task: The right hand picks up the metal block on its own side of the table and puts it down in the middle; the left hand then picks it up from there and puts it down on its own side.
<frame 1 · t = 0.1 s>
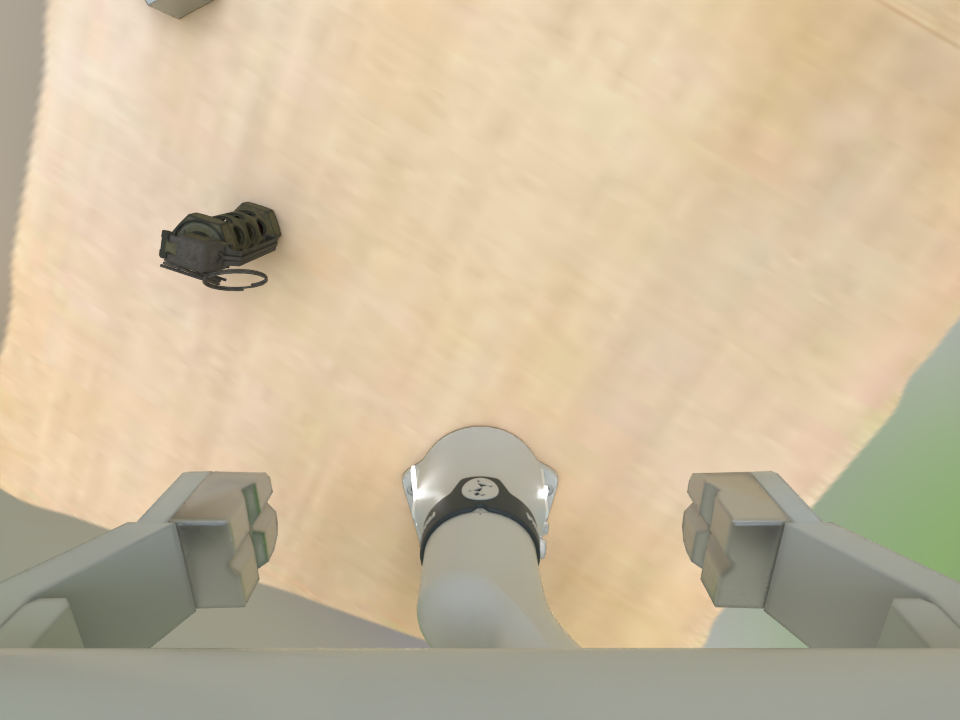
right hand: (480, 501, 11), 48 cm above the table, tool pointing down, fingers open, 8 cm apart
grenade: (266, 236, 56), on the table
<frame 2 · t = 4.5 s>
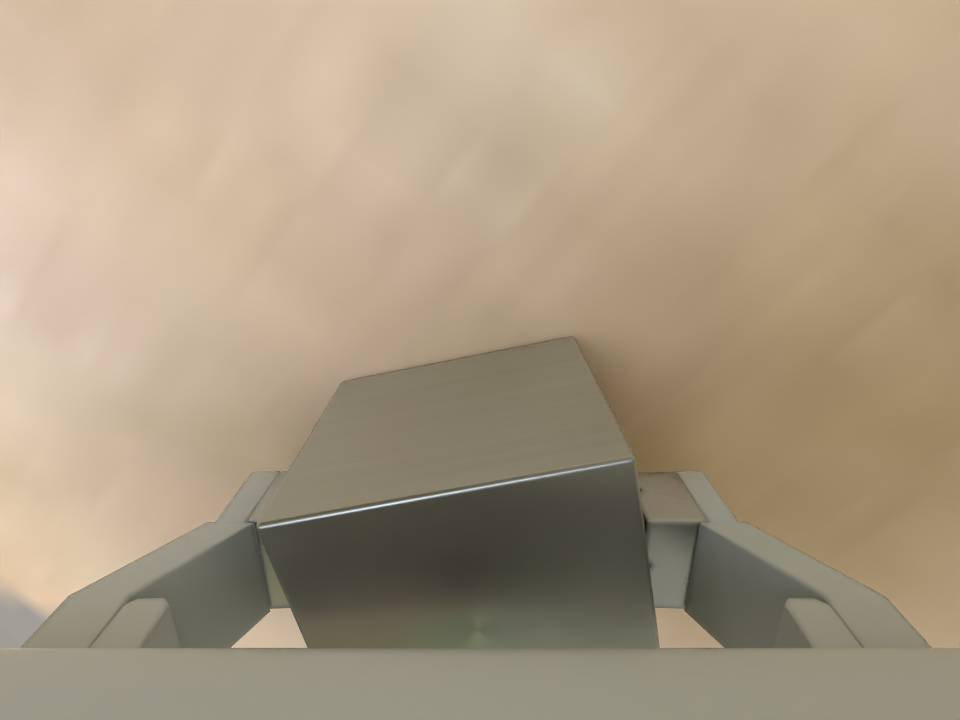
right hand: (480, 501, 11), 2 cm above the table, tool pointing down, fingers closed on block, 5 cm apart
block: (478, 453, 12), on the table, touching right hand
when the right hand's fingers open (2 cm above the table, at t = 11.2 s): block stays where it is, on the table.
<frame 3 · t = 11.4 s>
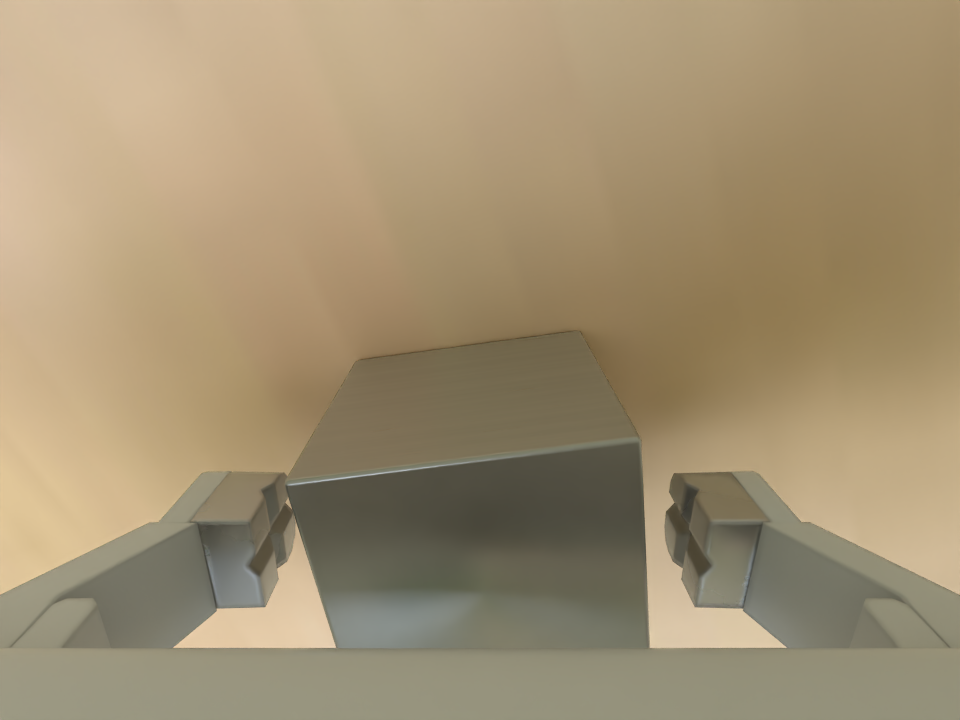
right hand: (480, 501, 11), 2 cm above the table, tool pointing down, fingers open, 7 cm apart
block: (481, 437, 13), on the table
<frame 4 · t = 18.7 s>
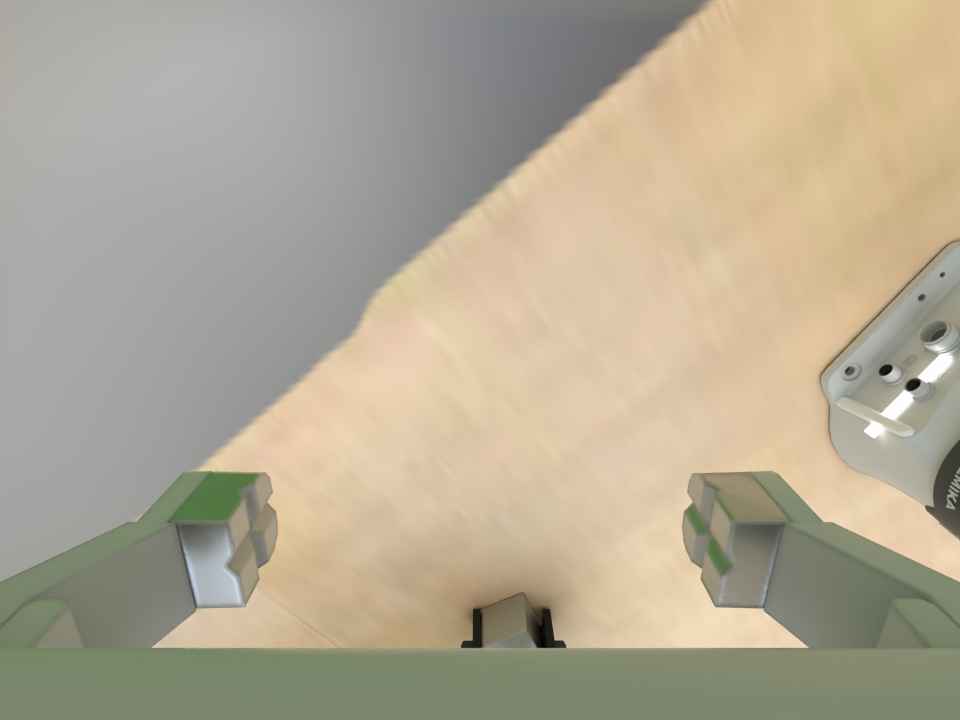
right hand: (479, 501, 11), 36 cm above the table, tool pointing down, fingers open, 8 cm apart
block: (511, 615, 58), on the table, touching left hand
when the left hand's fingers open (1 cm above the table, at t = 26.0 s): block stays where it is, on the table.
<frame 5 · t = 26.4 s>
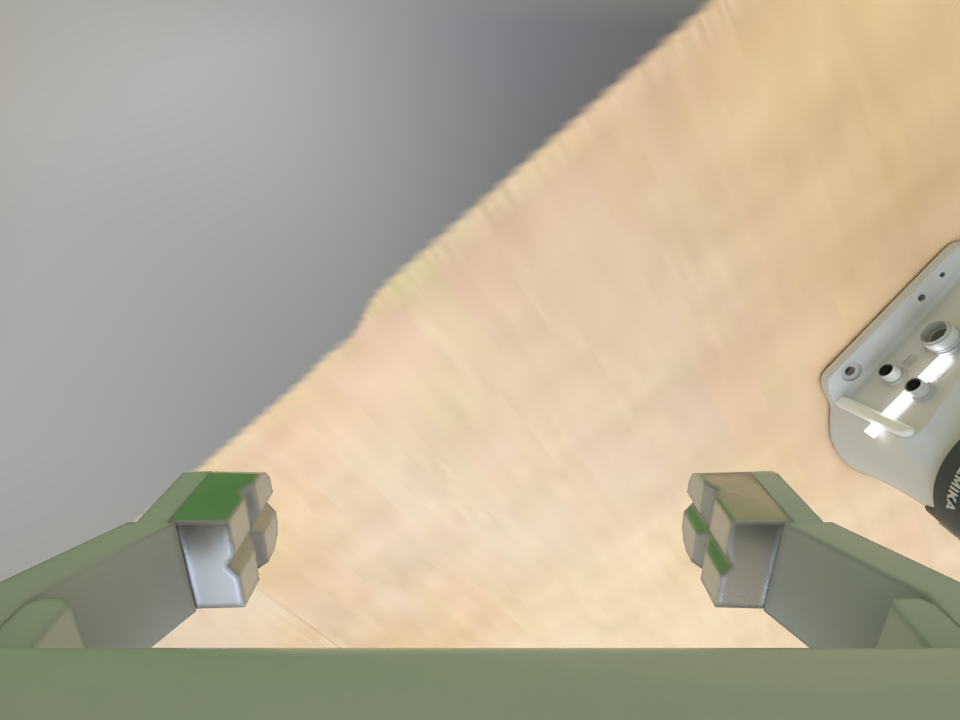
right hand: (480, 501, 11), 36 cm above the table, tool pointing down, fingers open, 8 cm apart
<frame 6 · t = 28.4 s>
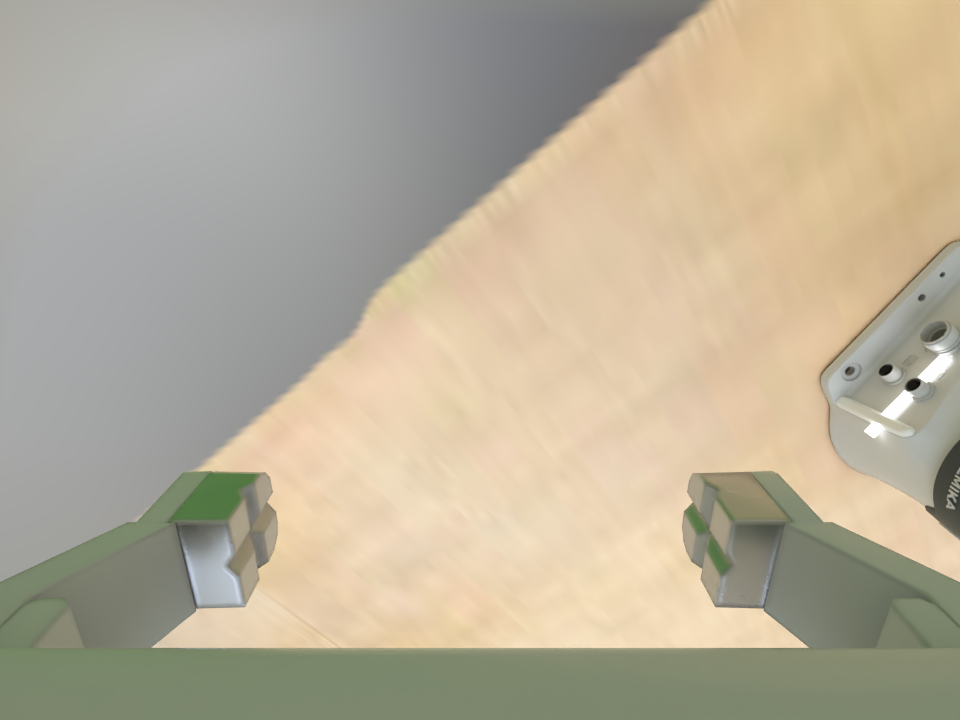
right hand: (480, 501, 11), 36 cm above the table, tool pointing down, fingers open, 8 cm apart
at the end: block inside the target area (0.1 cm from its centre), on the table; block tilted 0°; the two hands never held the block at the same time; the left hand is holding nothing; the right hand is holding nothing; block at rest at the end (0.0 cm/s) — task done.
